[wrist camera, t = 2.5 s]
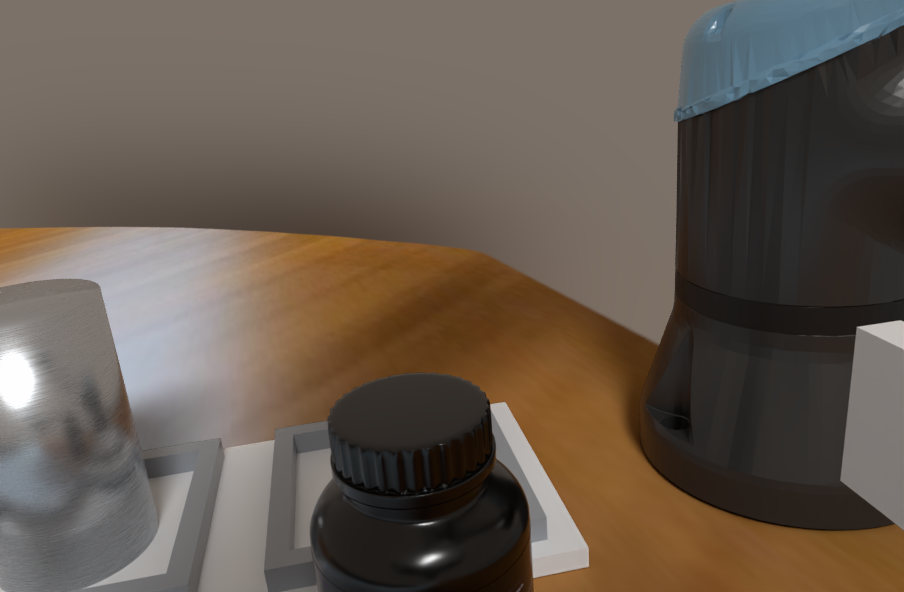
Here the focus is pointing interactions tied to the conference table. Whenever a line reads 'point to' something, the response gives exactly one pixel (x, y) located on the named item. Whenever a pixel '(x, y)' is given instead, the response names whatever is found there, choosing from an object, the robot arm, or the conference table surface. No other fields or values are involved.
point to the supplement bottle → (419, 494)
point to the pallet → (291, 513)
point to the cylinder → (66, 443)
